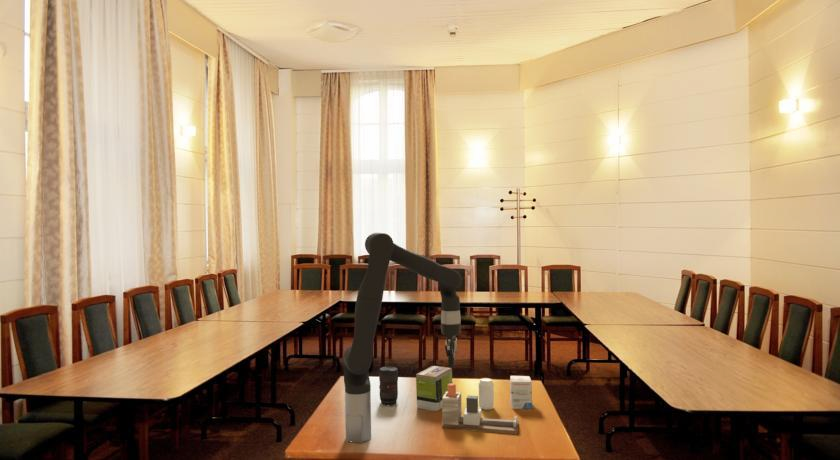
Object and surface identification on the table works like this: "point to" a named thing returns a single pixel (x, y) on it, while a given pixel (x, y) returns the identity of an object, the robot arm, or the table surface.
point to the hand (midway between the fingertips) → (451, 366)
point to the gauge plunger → (451, 390)
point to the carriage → (472, 411)
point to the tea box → (432, 387)
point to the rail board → (455, 421)
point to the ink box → (521, 392)
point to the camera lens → (388, 385)
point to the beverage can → (486, 394)
